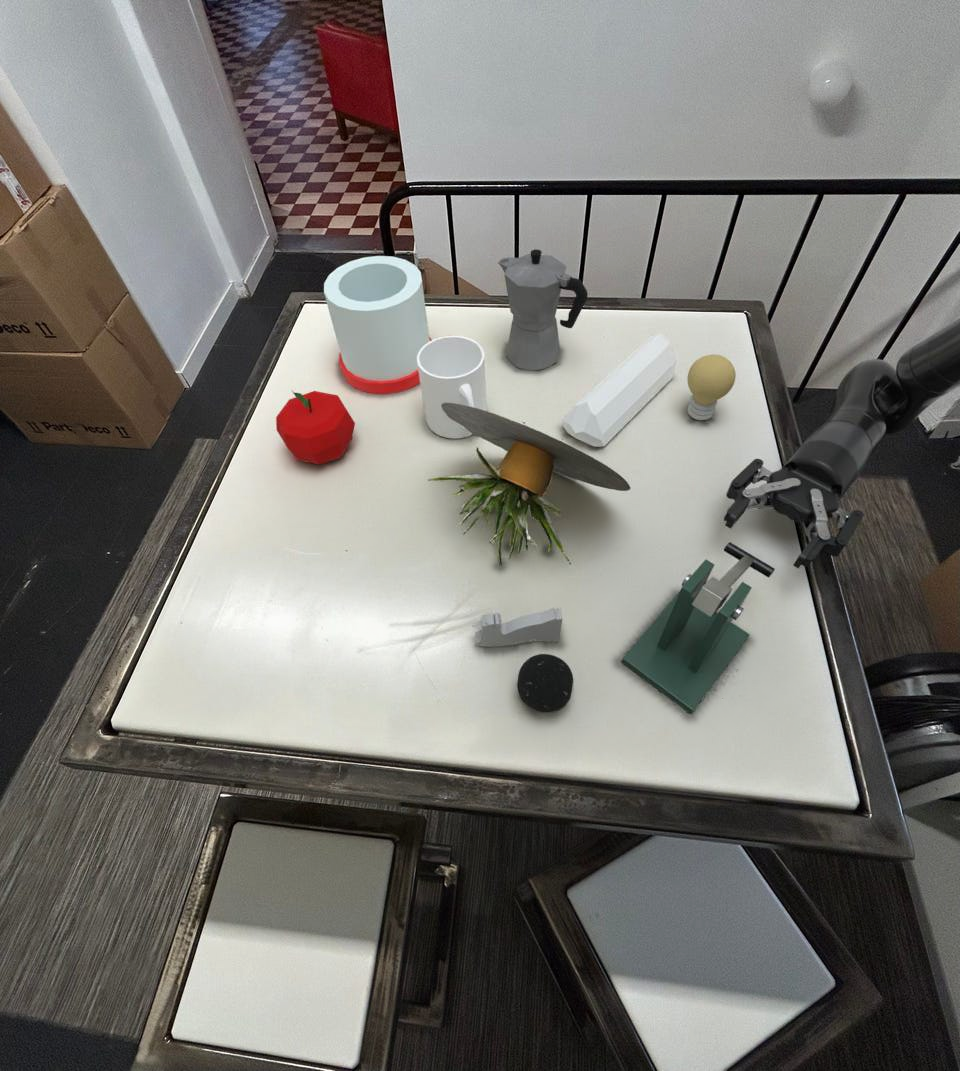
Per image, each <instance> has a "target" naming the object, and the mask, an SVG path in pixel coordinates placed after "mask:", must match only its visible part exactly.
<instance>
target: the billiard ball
mask: <svg viewBox="0 0 960 1071" xmlns="http://www.w3.org/2000/svg"><path fill="white" fill-rule="evenodd" d="M574 683H575V680H574V674H573V672H572V669H571V668H570V666H569V665H568V664H567V663H566V661H565V660H563V659H562V658H560V657H559V656H556V655H553V654H549V653H540V654H535V655H532V656H531V657H529V658H527V659H526V660H525V661H524V662H523V663H522V665H521V667H520V668H519V670H518V674H517V676H516V690H517V694H518V696H519V698H520V700H521V702H522V703H523V704H524V705H525V706H526V707H527V708H529V709H531V710H533V711H535V712H537V713H542V714H551V713H555V712H558V711H560V710H562V709H563V708H564V707H566V705H567V704H568V703H569V702H570V701H571V700H570V699H571V697H572V695H573V692H574V687H575V686H574V685H575V684H574Z"/></svg>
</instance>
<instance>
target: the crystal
mask: <svg viewBox="0 0 960 1071" xmlns="http://www.w3.org/2000/svg"><path fill="white" fill-rule="evenodd" d="M673 349H674V348H673V346H672V342H671V341H670V340H668V339H667V338H666V337H665V336H664V335H663V334H662V333H661V332H660V333H654V334H650V336H649V337H648V338H646V340H644V341H643V342H642V343H641V344H640V345H639V346H638V347H637V348H636V349H634V351H632V352H631V353H630V354H629V355H628V356H626V358H624V359H623V360H622V362H620V363H619V365H617V366H616V367H615V368H614V369H613V370H612V371H611V372H609V374H607V376H605V377H604V378H603V379H602V380H601V381H600V382H598V384H597V385H595V387H593V388H592V389H591V390H590V391H589V392H588V393H587V394H585V396H583V398H582V399H580V400H579V401H577V403H576V404H575V405H574V406H573V407H571V409H570V410H569V411H568V412H566V414H564V415H563V418H562V421H561V425H562V427H563V428H564V429H565V432H566V433H567V434H568V435H570V436H572V437H573V438H575V439H577V440H579V441H581V442H583V443H585V444H588V445H589V446H592V447H593V448H594V447H595V448H596V447H605V446H606V445H607V444H608V443H609V442H610V441H612V440H613V438H614V437H615V436H616V435H617V434H618V433H619V432H620V431H621V430H622V429H623V428H624V427H625V426H626V425H627V424H628V423H629V422H630V421H631V420H632V419H633V418H634V417H635V416H636V415H637V414H638V413H639V412H640V411H641V410H642V409H643V408H644V407H645V406H646V405H647V404H648V403H649V402H650V401H651V400H652V399H653V398H654V397H655V396H656V395H657V394H658V393H659V392H660V391H661V390H662V389H663V388H664V387H665V386H666V385H667V384H668V382H670V381H671V380H672V379H673V378H674V375H675V371H676V370H675V369H676V365H677V359H676V356H675V352H674V350H673Z"/></svg>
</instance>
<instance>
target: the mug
mask: <svg viewBox="0 0 960 1071" xmlns="http://www.w3.org/2000/svg"><path fill="white" fill-rule="evenodd" d="M417 365H418V372H419V379H420V383H419V385H420V391H421V398H422V404H423V412H424V417H425V420H426V423H427V427H428V428H430V430H431V431H432V432H433V433H435V435H438V436H441V437H442V438H447V439H463V438H467V437H469V436H471V435H473V434H472V433H471V432H469V431H468V430H467V429H466V428H465V427H463V426H462V425H460V424H459V423H457V422H455V421H453V420H452V419H450V418H449V417H448V416H447V415H446V413H445V412H444V411H443V409H442V407H441V405H442V404H443V403H455V404H461V405H465V406H469V407H473V408H478V409H481V410H484V411H488V408H487V407H488V406H487V386H486V385H487V383H486V359H485V350H484V349H483V347H482V345H481V344H479V342H478V341H476V340H474V339H472V338H470V337H466V336H463V335H446V336H440V337H437V338H435V339H432V341H430V342H428V343H427V344H425V345H424V346H423V347H422V348H421V349H420V350H419V353H418V355H417Z"/></svg>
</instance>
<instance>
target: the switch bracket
mask: <svg viewBox="0 0 960 1071" xmlns="http://www.w3.org/2000/svg"><path fill="white" fill-rule="evenodd" d="M714 567H715V563H713V562H711V561H710V560H709V559H706V558H705V559H704V560H703V562H702V563H701V564H700V565H699V566H698V567H697V569H696V570H694V572H693V573H692V574H690V573H689V574H687V575H686V577H684V579H683V581H682V582H681V588H680V590H679V591H678V593H677V594H676V595H675V596H674V597H673V598H672V600H671V601H669V603H668V605H666V607H665V608H664V609H663V610H662V611H661V612H660V613H659V615H658V616H657V617H656V618H655V619H654V620H653V622H652V623H651V624H650V626H648V628H646V630H645V631H644V632H643V633H642V635H641V636H640V637H639V638H638V639H637V640H636V641H635V643H634V644H633V645H632V646H631V647H630V649H629V650H628V651H627V652H626V654H624V655H623V657H622V659H621V664H623V665H624V666H625V667H626V668H628V669H629V670H631V671H632V672H633V673H635V674H636V675H637V676H639V677H640V678H641V679H642V680H644V681H646V682H647V683H648V684H649V685H651V687H653V688H655V689H656V690H657V691H659V692H660V693H661V694H663V695H664V696H665V697H667V698H668V699H669V700H671V701H672V702H673V703H674V704H676V705H678V706H679V707H680V708H681V709H683V710H684V711H685V712H687V714H690V715H692V713H694V711H695V710H696V708H697V707H698V705H699V704H700V703H701V701H702V700H704V698H705V696H707V693H709V691H710V689H711V688H712V687H713V686H714V685H715V683H716V682H717V680H718V679H719V678H720V677H721V675H722V673H723V672H724V671H725V669H726V668H727V667H728V666H729V664H730V663H731V662H732V660H733V659H734V657H735V656H736V655H737V654H738V652H739V651H740V650H741V648H742V647H743V645H745V643H746V641H747V640H748V638H749V637H750V633H748V632H747V631H745V630H744V629H742V628H741V627H740V626H737V625H736V624H735V623H733V620H734V621H737V620H738V618H739V617H740V616H741V615H742V613H743V611H744V608H743V607H742V606H743V604H744V602H745V600H746V599H747V597H748V595H749V594H750V592H751V590H752V588H753V587H752V586H750V585H749V584H747V583H746V582H744V581H741V583H740V584H739V586H738V587H737V588H736V589H735V591H734V592H733V593H732V594H731V596H730V597H729V598H727V600H726V601H725V602H724V603H723V605H722V606H721V608H720V609H719V610H718V611H717V612H716V613H715V614H714V615H713V616H712V617H710V616H708V615H707V614H705V613H703V612H702V611H700V610H699V609H697V608H696V607H694V606H693V605H692V603H693V601H694V599H695V598H696V596H697V594H698V593H699V591H700V589H701V588H702V586H703V585H704V584H706V583H707V582H708V581H709V578H710V575H711V574H712V572H713V569H714Z"/></svg>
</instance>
